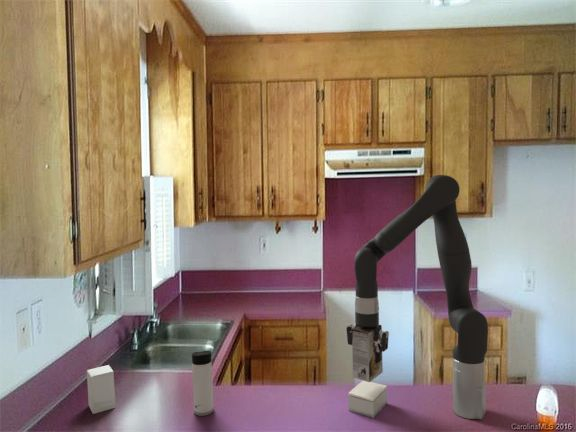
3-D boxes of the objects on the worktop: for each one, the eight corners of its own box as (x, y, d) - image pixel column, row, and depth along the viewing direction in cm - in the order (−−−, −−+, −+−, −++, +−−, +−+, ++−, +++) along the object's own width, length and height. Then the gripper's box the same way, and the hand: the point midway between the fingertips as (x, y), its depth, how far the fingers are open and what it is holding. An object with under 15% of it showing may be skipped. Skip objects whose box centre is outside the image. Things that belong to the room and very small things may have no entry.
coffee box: (365, 368, 149) (365, 321, 148) (383, 372, 144) (382, 324, 143) (351, 377, 142) (350, 328, 141) (369, 382, 137) (368, 332, 136)
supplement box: (116, 407, 148) (114, 371, 147) (92, 414, 144) (90, 377, 143) (111, 399, 154) (109, 364, 153) (88, 405, 150) (86, 369, 149)
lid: (386, 387, 146) (386, 385, 145) (373, 401, 136) (373, 399, 136) (363, 381, 150) (363, 380, 150) (348, 394, 141) (348, 392, 141)
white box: (387, 403, 146) (386, 388, 146) (373, 418, 137) (373, 402, 137) (363, 396, 151) (363, 382, 150) (348, 410, 142) (348, 395, 141)
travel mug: (195, 418, 140) (192, 356, 139) (193, 408, 146) (190, 349, 145) (214, 414, 142) (212, 353, 140) (212, 405, 148) (210, 346, 147)
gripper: (341, 309, 143) (342, 359, 144) (383, 315, 134) (384, 369, 136) (351, 304, 149) (352, 352, 150) (392, 310, 141) (393, 361, 142)
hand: (367, 360), depth 143 cm, fingers closed on coffee box, 6 cm apart
